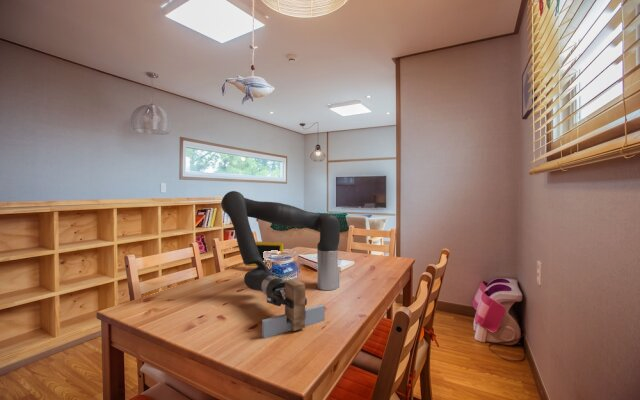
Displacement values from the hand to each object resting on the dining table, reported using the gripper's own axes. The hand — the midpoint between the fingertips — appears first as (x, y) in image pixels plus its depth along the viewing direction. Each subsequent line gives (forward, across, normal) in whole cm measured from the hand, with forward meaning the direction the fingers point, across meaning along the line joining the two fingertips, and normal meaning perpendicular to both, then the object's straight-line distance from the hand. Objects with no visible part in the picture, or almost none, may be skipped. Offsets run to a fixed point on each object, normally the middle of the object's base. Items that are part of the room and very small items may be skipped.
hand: (299, 303), depth 94 cm
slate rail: (-3, 0, +9) cm, 9 cm away
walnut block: (-3, 0, +8) cm, 8 cm away
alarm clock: (-72, +20, +10) cm, 75 cm away
